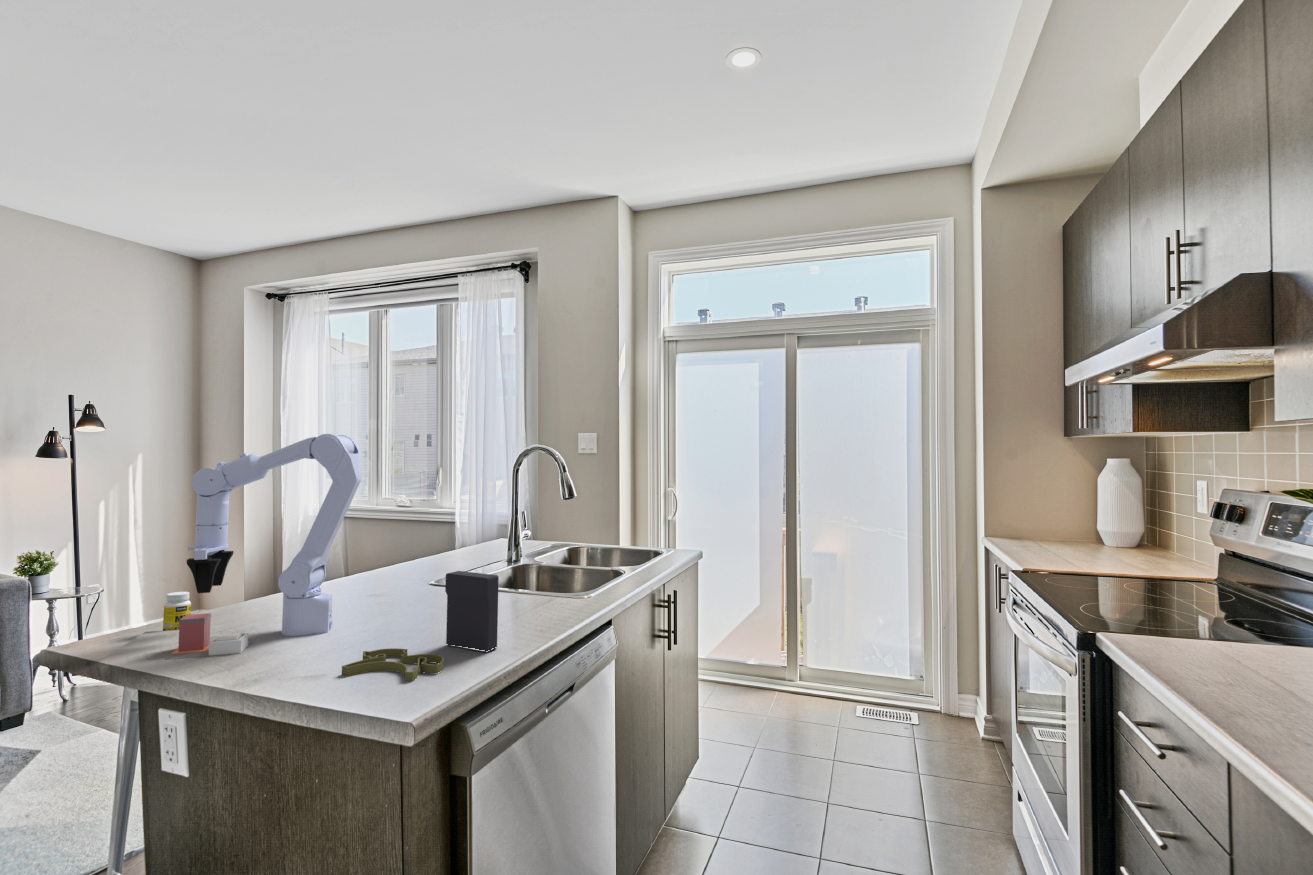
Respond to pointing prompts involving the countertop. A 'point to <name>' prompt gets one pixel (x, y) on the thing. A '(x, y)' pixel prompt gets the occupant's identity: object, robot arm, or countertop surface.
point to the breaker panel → (215, 649)
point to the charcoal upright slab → (472, 610)
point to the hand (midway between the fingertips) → (209, 588)
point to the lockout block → (194, 632)
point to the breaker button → (229, 635)
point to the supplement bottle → (175, 610)
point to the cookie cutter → (394, 663)
